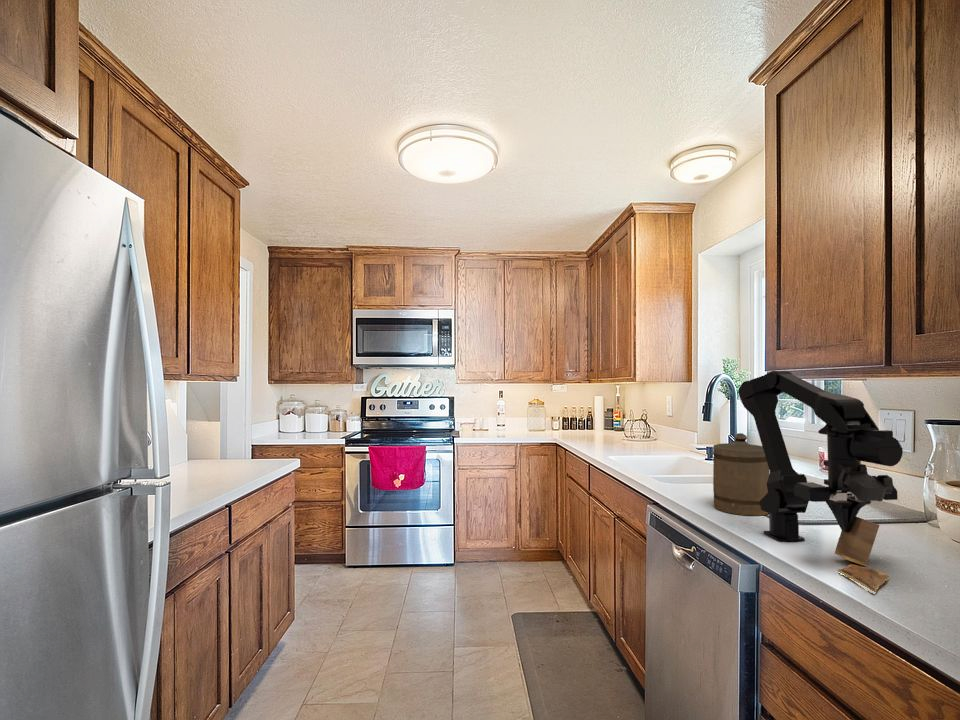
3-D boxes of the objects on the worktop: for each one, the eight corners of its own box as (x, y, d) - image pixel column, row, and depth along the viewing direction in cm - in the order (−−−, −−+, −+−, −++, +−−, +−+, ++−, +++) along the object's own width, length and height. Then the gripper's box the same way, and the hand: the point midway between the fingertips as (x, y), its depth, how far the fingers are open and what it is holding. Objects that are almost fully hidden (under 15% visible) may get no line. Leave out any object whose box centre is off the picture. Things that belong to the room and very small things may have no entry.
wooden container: (754, 502, 158) (752, 430, 158) (781, 516, 143) (779, 436, 143) (705, 502, 158) (703, 430, 158) (727, 516, 143) (726, 437, 144)
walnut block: (834, 553, 110) (847, 513, 111) (851, 559, 111) (864, 519, 111) (848, 560, 106) (862, 518, 107) (866, 566, 107) (879, 525, 107)
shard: (874, 598, 93) (874, 588, 93) (826, 584, 99) (825, 575, 99) (891, 582, 100) (891, 573, 100) (845, 570, 106) (844, 561, 106)
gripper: (828, 465, 100) (830, 546, 100) (920, 463, 101) (922, 543, 101) (791, 456, 112) (793, 528, 111) (874, 454, 112) (876, 526, 112)
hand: (845, 532), depth 109 cm, fingers closed
